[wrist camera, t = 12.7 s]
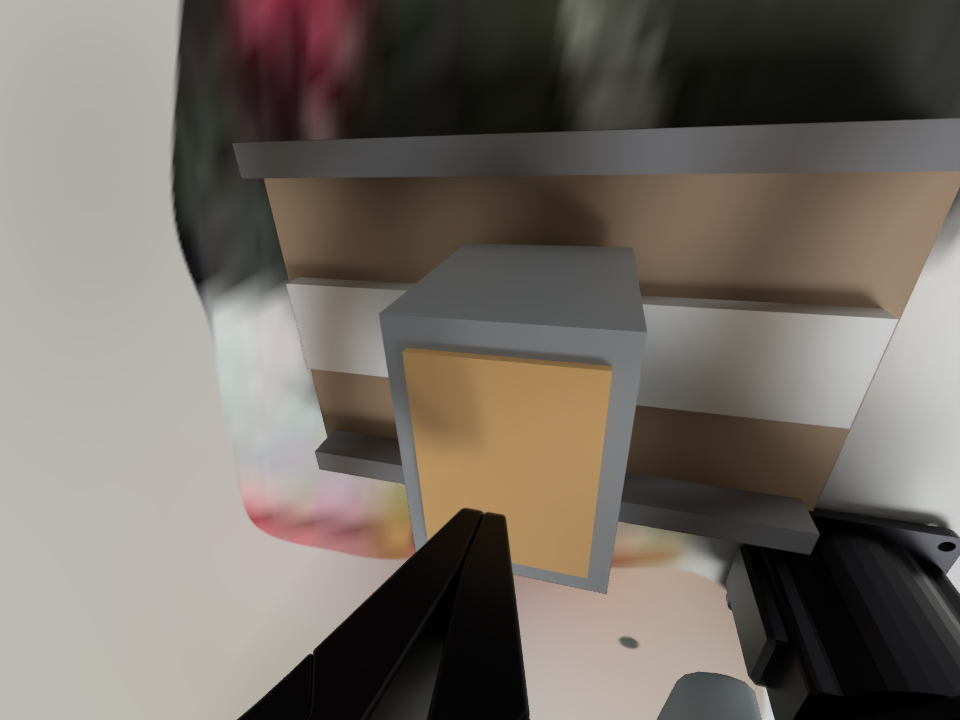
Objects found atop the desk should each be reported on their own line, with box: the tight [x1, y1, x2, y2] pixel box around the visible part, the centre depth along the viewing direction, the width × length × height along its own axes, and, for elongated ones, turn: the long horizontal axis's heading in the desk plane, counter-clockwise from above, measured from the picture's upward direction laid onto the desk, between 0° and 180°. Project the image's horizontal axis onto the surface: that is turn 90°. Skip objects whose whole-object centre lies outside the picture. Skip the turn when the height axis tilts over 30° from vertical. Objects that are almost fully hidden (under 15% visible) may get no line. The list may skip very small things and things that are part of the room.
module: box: [379, 243, 647, 594], centre depth 12 cm, size 5×7×6 cm
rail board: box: [232, 118, 960, 555], centre depth 15 cm, size 20×13×3 cm, turn 92°
